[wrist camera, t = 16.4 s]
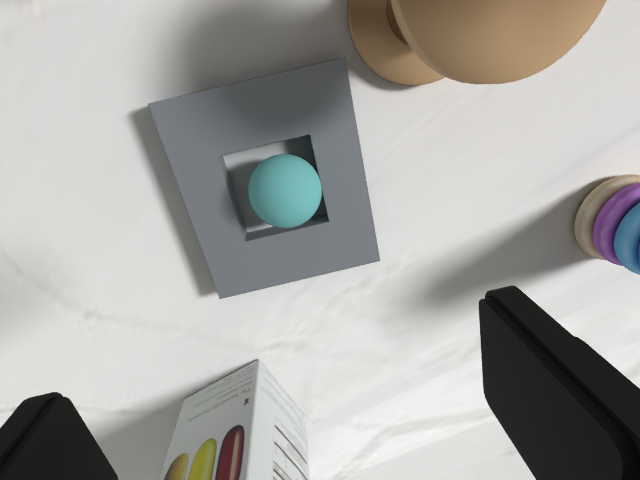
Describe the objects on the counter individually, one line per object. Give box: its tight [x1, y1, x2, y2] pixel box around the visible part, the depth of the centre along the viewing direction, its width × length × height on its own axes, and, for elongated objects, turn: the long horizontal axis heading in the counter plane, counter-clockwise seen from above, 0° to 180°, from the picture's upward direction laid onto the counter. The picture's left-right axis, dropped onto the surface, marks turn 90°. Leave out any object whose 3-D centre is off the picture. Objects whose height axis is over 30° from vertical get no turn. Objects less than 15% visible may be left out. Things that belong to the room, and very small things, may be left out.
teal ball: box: [248, 154, 322, 228], centre depth 29 cm, size 6×6×6 cm
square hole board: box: [148, 57, 380, 299], centre depth 31 cm, size 16×14×2 cm
